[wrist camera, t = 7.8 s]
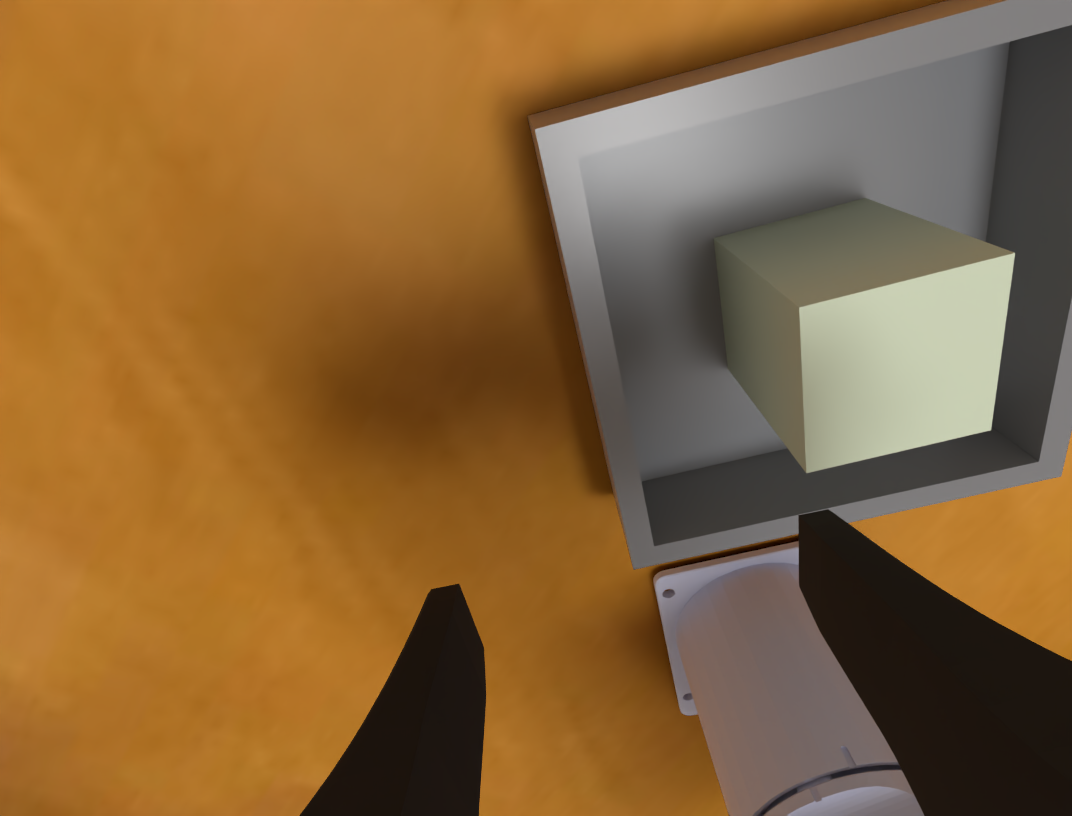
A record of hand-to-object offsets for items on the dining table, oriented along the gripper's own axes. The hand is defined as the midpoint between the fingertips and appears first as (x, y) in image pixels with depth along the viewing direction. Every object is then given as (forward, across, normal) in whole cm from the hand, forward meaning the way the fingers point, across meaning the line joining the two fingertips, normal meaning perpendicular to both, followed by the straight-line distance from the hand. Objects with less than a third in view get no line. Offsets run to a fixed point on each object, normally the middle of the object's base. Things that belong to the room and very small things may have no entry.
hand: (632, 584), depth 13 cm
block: (+9, -7, -2) cm, 11 cm away
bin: (+9, -7, -2) cm, 12 cm away
